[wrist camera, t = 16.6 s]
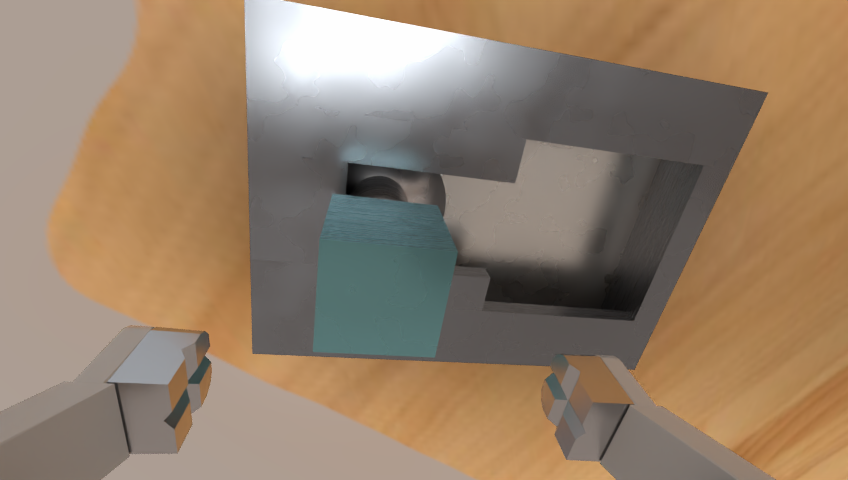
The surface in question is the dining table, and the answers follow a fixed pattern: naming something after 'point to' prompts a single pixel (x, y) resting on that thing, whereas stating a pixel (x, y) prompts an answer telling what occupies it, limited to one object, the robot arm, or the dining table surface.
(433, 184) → the keyhole peg
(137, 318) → the dining table surface
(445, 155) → the keyhole plate
